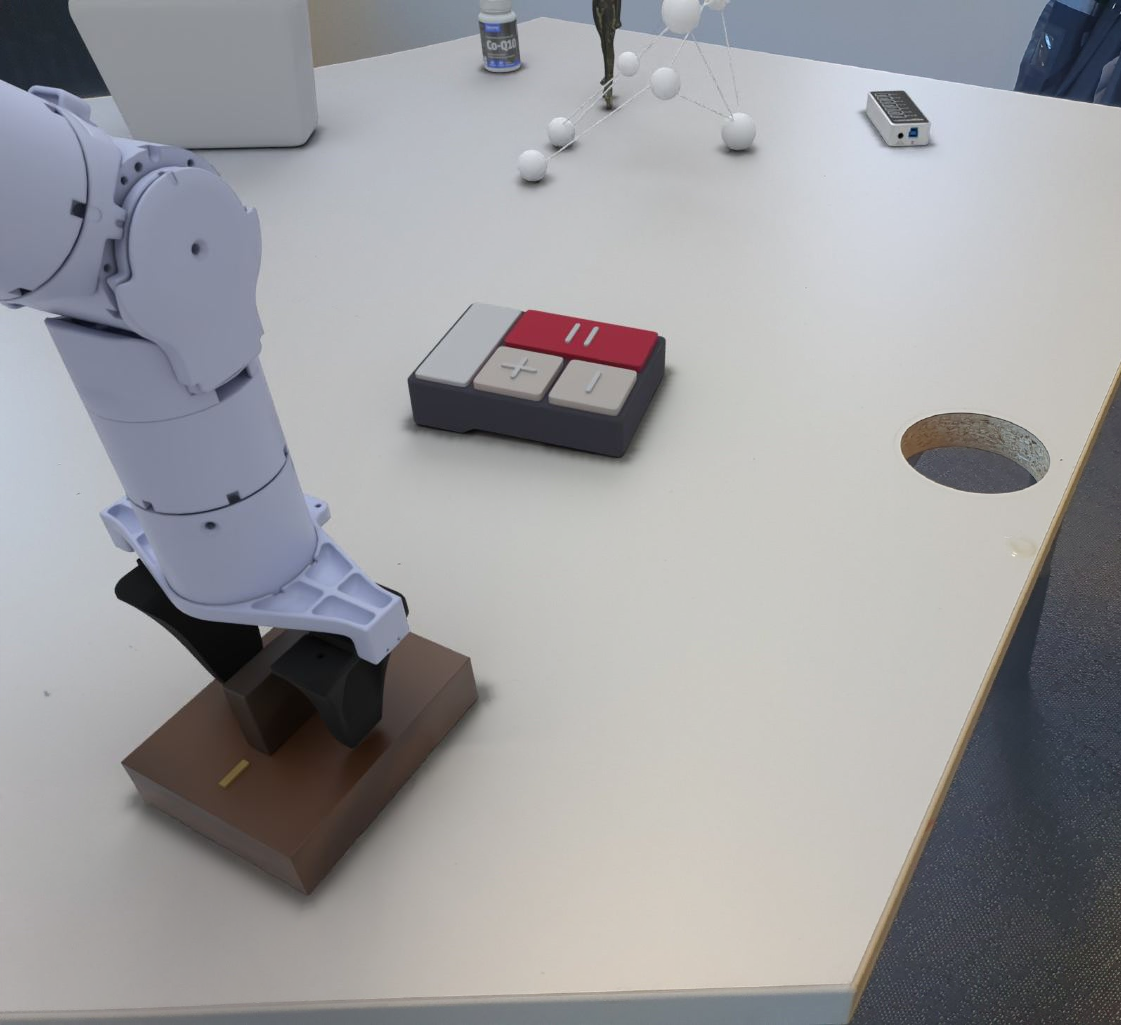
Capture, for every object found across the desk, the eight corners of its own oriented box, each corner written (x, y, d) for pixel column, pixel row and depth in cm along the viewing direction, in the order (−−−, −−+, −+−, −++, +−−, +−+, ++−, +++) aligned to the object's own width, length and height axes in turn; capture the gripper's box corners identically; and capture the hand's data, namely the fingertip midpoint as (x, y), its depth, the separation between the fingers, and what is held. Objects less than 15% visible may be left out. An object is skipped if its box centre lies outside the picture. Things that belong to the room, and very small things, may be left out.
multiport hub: (902, 110, 115) (905, 90, 114) (928, 145, 107) (932, 123, 106) (864, 111, 115) (867, 91, 114) (888, 146, 107) (891, 124, 105)
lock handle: (270, 756, 44) (242, 694, 41) (247, 744, 44) (217, 682, 41) (356, 670, 47) (335, 609, 45) (333, 660, 48) (312, 598, 45)
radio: (341, 122, 113) (283, -139, 97) (325, 149, 107) (259, -125, 91) (145, 126, 112) (53, -136, 96) (117, 153, 106) (14, -122, 90)
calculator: (622, 413, 63) (402, 370, 65) (621, 466, 65) (411, 423, 68) (668, 327, 71) (471, 292, 73) (665, 377, 73) (476, 342, 76)
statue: (580, 112, 115) (566, -86, 102) (591, 94, 120) (579, -97, 107) (620, 114, 115) (611, -85, 102) (629, 96, 120) (622, -97, 107)
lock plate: (308, 895, 42) (288, 855, 40) (144, 800, 46) (118, 759, 44) (479, 696, 50) (470, 655, 48) (328, 629, 54) (313, 587, 52)
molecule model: (765, 188, 103) (776, 20, 88) (523, 209, 102) (493, 42, 87) (745, 107, 111) (752, -60, 96) (520, 125, 109) (492, -41, 95)
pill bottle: (488, 75, 126) (478, 2, 120) (481, 64, 129) (472, -7, 124) (524, 71, 127) (517, -1, 122) (517, 60, 130) (509, -10, 125)
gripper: (432, 462, 37) (482, 696, 46) (159, 365, 42) (251, 593, 51) (294, 580, 32) (379, 816, 41) (5, 455, 37) (136, 689, 46)
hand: (301, 700), depth 46 cm, fingers open, 7 cm apart
